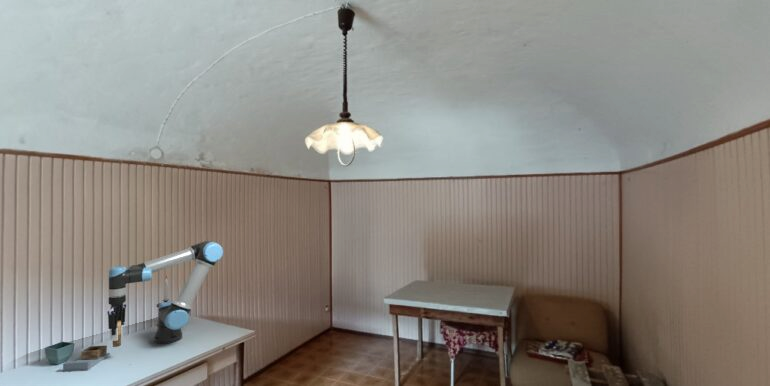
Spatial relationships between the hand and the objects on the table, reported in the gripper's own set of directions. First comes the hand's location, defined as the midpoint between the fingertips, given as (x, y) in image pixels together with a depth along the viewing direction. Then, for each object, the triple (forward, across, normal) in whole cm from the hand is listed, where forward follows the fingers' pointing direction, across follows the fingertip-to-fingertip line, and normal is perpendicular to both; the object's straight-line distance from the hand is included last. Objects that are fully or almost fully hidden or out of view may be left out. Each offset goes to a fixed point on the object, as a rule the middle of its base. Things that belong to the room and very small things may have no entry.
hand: (116, 338), depth 195 cm
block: (+9, -1, -12) cm, 15 cm away
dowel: (+4, 0, 0) cm, 4 cm away
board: (+10, +4, -12) cm, 16 cm away
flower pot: (+10, +2, -27) cm, 29 cm away
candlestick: (+12, -56, +1) cm, 57 cm away
